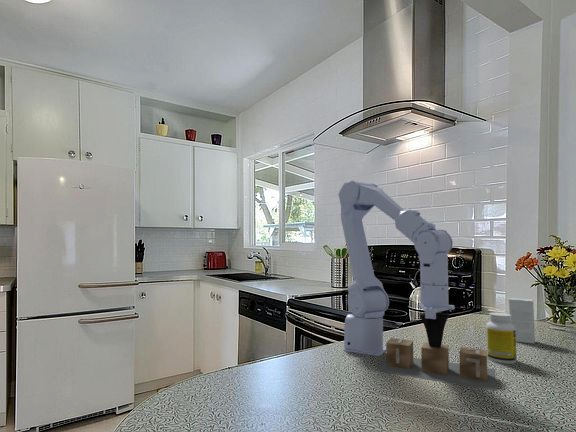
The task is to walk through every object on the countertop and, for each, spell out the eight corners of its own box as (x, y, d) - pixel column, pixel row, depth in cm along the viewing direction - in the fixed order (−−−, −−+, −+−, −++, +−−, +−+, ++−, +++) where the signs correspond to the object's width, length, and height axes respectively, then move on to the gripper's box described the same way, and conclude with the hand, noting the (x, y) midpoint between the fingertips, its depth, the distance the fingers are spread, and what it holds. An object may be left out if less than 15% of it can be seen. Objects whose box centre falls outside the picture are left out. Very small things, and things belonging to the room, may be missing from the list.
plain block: (421, 371, 82) (421, 347, 82) (424, 364, 86) (424, 342, 87) (446, 375, 80) (446, 350, 80) (448, 368, 84) (448, 345, 84)
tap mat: (374, 371, 82) (374, 370, 82) (389, 355, 94) (389, 353, 94) (496, 392, 71) (496, 390, 71) (495, 370, 84) (495, 369, 84)
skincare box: (534, 341, 110) (533, 299, 111) (535, 344, 107) (533, 301, 108) (510, 338, 114) (509, 297, 115) (509, 341, 110) (508, 299, 111)
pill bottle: (520, 366, 87) (519, 317, 88) (491, 364, 89) (490, 315, 89) (510, 358, 93) (509, 312, 94) (483, 356, 95) (482, 311, 95)
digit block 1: (386, 365, 85) (386, 342, 86) (391, 359, 90) (391, 337, 90) (409, 369, 83) (409, 345, 83) (413, 363, 87) (413, 340, 88)
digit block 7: (459, 377, 78) (459, 351, 79) (461, 370, 83) (460, 346, 83) (487, 382, 76) (486, 355, 76) (487, 374, 80) (486, 349, 81)
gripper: (451, 288, 76) (452, 358, 75) (456, 282, 89) (457, 342, 88) (414, 286, 79) (415, 353, 78) (424, 280, 92) (425, 338, 91)
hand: (435, 347), depth 83 cm, fingers closed, pressing on plain block
